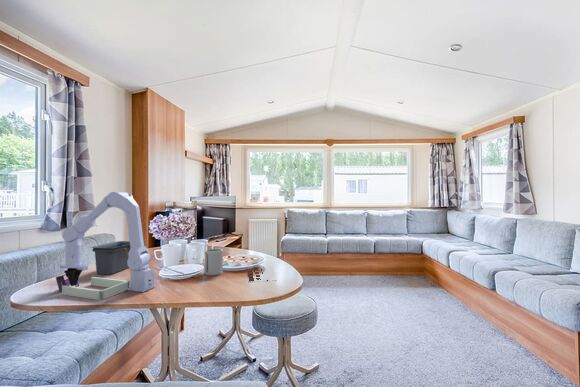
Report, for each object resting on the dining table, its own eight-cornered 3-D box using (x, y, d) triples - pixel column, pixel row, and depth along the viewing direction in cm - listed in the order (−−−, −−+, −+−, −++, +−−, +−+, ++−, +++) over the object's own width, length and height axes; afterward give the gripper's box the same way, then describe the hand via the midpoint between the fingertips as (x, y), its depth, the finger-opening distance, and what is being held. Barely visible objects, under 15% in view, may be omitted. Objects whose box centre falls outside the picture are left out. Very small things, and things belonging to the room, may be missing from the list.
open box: (129, 289, 132) (129, 281, 132) (101, 300, 118) (101, 291, 118) (92, 284, 138) (92, 276, 138) (61, 294, 124) (61, 286, 124)
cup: (225, 270, 162) (225, 248, 162) (219, 275, 153) (219, 252, 153) (208, 270, 163) (208, 248, 163) (202, 275, 154) (202, 251, 154)
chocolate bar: (246, 268, 169) (246, 266, 169) (270, 267, 171) (270, 265, 171) (248, 283, 142) (248, 280, 142) (276, 281, 145) (276, 279, 145)
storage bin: (117, 265, 173) (117, 240, 173) (142, 266, 171) (142, 241, 171) (88, 275, 152) (88, 247, 152) (115, 276, 150) (115, 248, 150)
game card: (57, 276, 126) (76, 271, 135) (47, 280, 127) (67, 274, 136) (61, 291, 126) (80, 285, 135) (52, 295, 127) (71, 289, 135)
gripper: (94, 253, 133) (94, 284, 133) (70, 251, 137) (70, 281, 138) (79, 257, 127) (79, 289, 127) (54, 254, 131) (54, 285, 131)
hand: (73, 285), depth 132 cm, fingers closed
